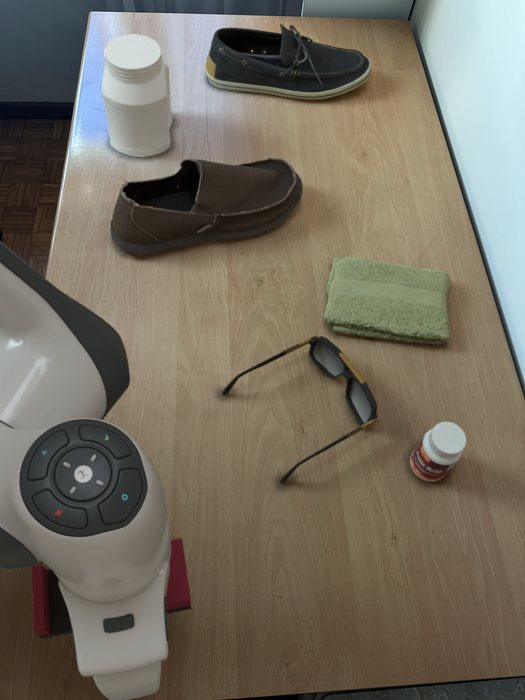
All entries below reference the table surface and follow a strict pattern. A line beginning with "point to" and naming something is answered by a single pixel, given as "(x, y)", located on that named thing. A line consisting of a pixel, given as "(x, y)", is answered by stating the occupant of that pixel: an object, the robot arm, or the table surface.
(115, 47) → the jar
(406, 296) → the washcloth
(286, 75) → the boat shoe
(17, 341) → the robot arm
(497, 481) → the table surface
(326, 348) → the sunglasses
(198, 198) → the loafer
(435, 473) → the pill bottle
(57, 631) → the red and black block
